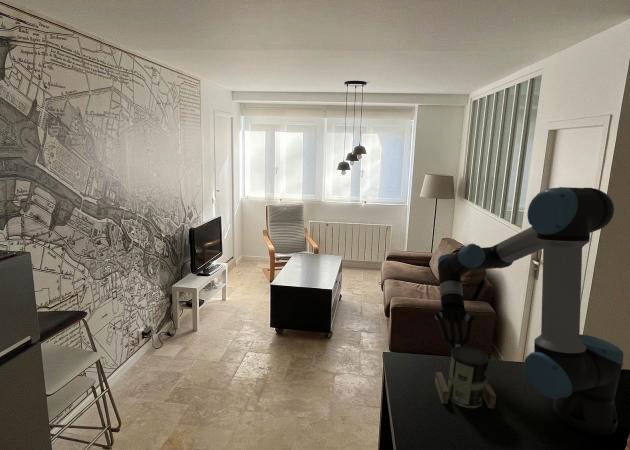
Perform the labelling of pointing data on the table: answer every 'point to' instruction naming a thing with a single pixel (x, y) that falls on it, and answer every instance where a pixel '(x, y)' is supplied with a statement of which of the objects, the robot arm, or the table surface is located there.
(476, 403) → the coffee can
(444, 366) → the table surface
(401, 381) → the table surface
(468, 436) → the table surface
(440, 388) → the chute
